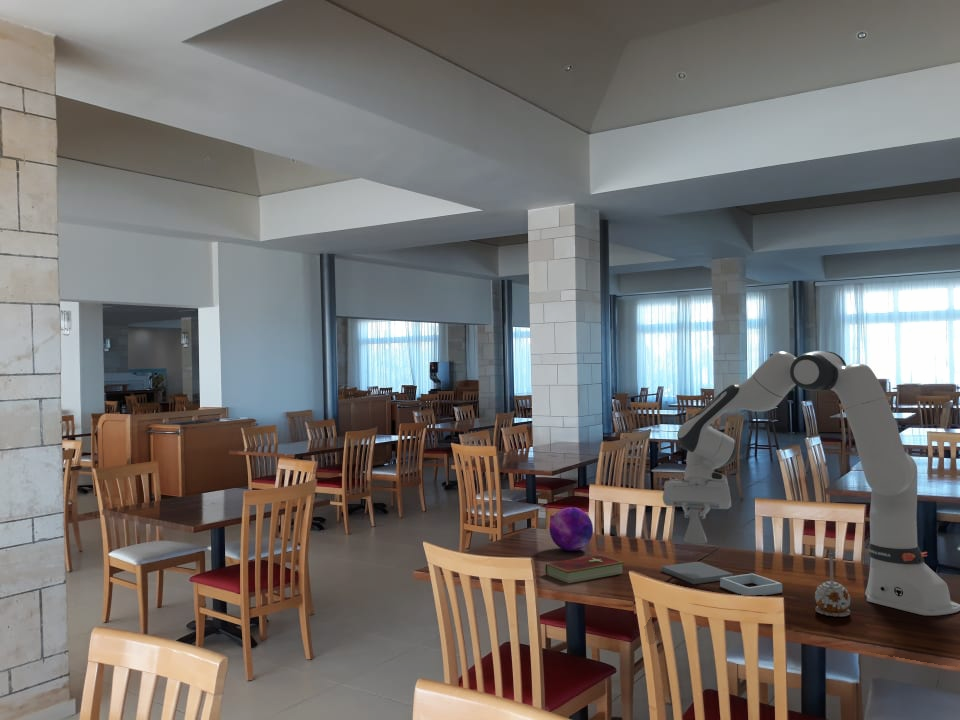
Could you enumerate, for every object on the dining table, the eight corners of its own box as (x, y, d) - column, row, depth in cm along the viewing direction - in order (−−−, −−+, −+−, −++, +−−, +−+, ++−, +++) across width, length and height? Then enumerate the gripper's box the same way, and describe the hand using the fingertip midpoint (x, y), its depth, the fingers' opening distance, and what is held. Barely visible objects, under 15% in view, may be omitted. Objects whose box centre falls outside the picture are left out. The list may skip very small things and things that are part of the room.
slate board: (733, 578, 222) (732, 573, 222) (693, 584, 217) (693, 579, 217) (698, 566, 237) (698, 561, 237) (661, 571, 232) (661, 566, 232)
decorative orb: (595, 555, 253) (594, 511, 254) (550, 555, 254) (549, 511, 255) (591, 545, 268) (590, 503, 269) (549, 545, 269) (548, 503, 270)
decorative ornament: (830, 619, 184) (828, 558, 185) (809, 610, 192) (807, 551, 192) (857, 616, 186) (855, 556, 187) (835, 607, 194) (833, 549, 194)
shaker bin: (782, 592, 208) (782, 583, 208) (748, 597, 203) (748, 588, 203) (752, 581, 218) (752, 573, 218) (720, 586, 214) (720, 577, 214)
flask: (710, 545, 224) (709, 511, 224) (685, 544, 224) (684, 511, 224) (705, 539, 231) (704, 506, 231) (681, 539, 231) (680, 506, 232)
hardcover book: (545, 576, 231) (545, 562, 231) (600, 566, 241) (600, 553, 241) (568, 585, 220) (567, 570, 220) (624, 575, 230) (624, 561, 230)
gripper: (663, 472, 238) (658, 509, 229) (731, 475, 230) (728, 513, 221) (666, 485, 242) (661, 521, 233) (732, 488, 234) (730, 525, 225)
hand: (694, 517), depth 227 cm, fingers closed on flask, 3 cm apart
